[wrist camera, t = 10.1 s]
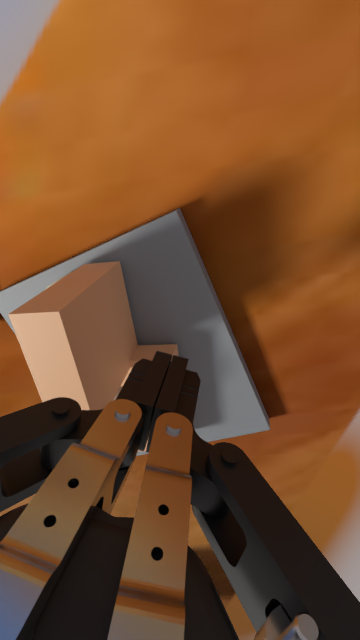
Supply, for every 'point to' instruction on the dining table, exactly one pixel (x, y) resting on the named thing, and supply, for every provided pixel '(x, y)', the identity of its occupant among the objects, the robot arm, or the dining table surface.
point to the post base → (172, 318)
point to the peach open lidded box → (82, 336)
